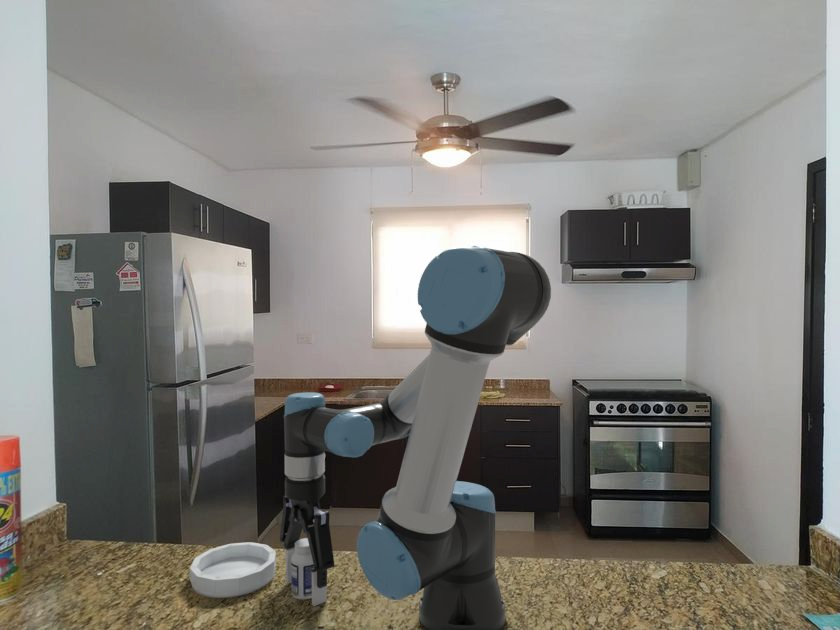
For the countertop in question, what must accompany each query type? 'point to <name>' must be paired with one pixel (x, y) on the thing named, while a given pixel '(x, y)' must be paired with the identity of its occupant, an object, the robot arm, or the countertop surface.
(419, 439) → the robot arm
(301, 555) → the pill bottle
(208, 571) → the dish
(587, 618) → the countertop surface
